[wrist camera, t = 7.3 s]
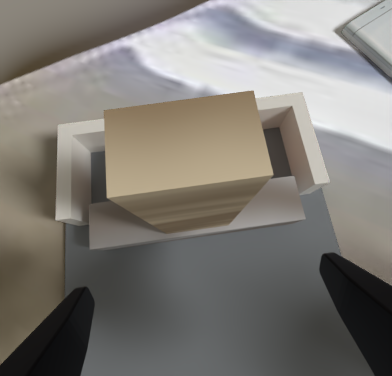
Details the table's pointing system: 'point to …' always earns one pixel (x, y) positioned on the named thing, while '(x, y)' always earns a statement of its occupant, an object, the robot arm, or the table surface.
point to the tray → (95, 142)
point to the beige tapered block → (188, 173)
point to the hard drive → (374, 35)
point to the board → (215, 298)
